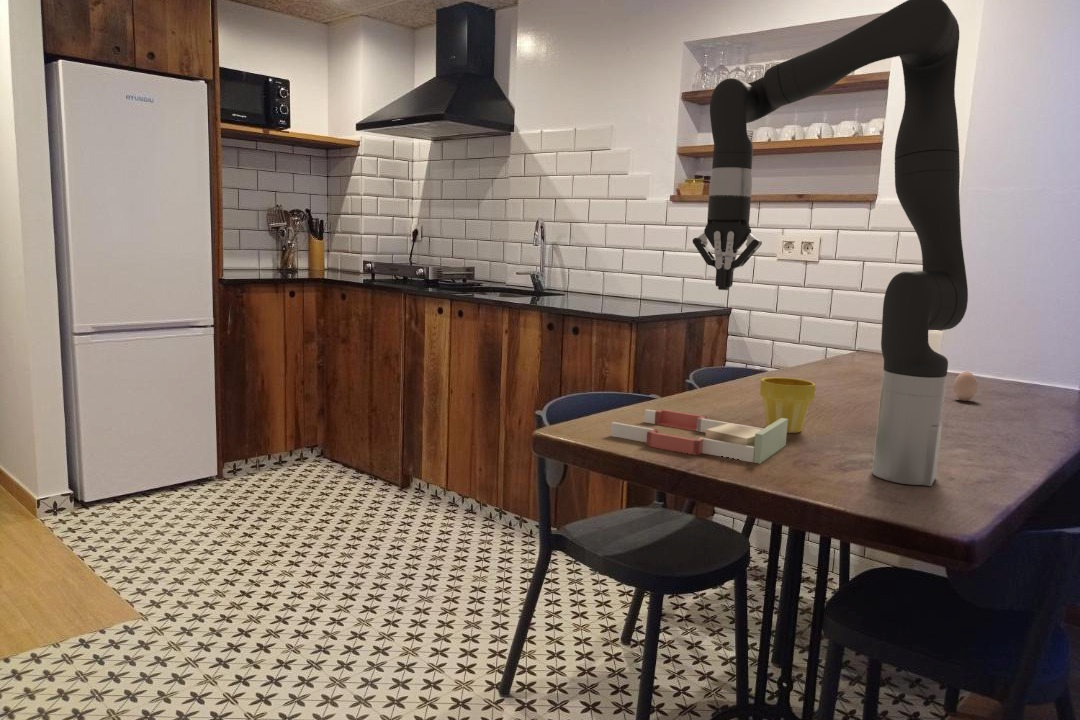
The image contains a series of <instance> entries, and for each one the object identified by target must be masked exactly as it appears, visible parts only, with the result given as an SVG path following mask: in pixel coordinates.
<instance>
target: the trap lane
mask: <svg viewBox="0 0 1080 720" xmlns="http://www.w3.org/2000/svg"><path fill="white" fill-rule="evenodd" d="M644 423H648V424H653V425H658V426H666V427H670V428H676V429H682V430H686V431H688V430H689V431H693V432H700V433H705V434H706V429H710V428H713V427H717V426H721V425H724V424H728V423H729V422H727V421H721V420H714V419H708V418H707V416H705V415H699V414H695V413H694V414H692V413H687V412H680V411H675V410H668V409H663V408H662V409H661V408H660V409H658V410H653V409H647V408H646V409H645V410H644ZM730 423H731V424H734V423H732V422H730ZM735 424H736V425H740V426H745V427H750V428H754V429H759V430H760V431H759V432H757V433H755V444H754V447H752V446H747V445H741V444H735V443H730V442H724V441H718V440H713V439H707V438H705V437H701V436H700V437H699V438H697V439H694V438H689V437H688V438H687V437H682V436H677V435H672V434H665V433H660V432H659V429H655V428H649V427H644V426H638V425H633V424H626V423H622V422H616V421H612V422H611V424H610V425H611V426H610V427H611V429H610V437H615V438H621V439H625V440H630V441H635V442H642V443H646V447H650V448H657V449H661V450H667V451H673V452H676V451H677V453H681V452H682V454H687V453H688V455H692V454H693V456H697V455H698V456H699V455H701V454H705V455H710V456H711V455H712V456H715V457H716V456H717V457H721V456H723V457H722V458H726V457H729V458H728V459H732V458H734V459H733V460H737V459H739V460H738V461H742V462H743V461H744V462H749V463H755V464H759V465H760V464H762V463H763V462H765V461H766V460H767V459H769V458H770V457H772V456H773V455H774V454H776V453H777V452H779V451H780V450H782V449H783V448H784V447H786V443H787V434H788V433H787V425H788V419H785V418H780V419H779V420H777V421H775V422H774V423H772V424H770V425H769V426H767V425H766V427H764V428H763V427H758V426H751V425H746V424H740V423H739V424H738V423H735Z"/></svg>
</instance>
